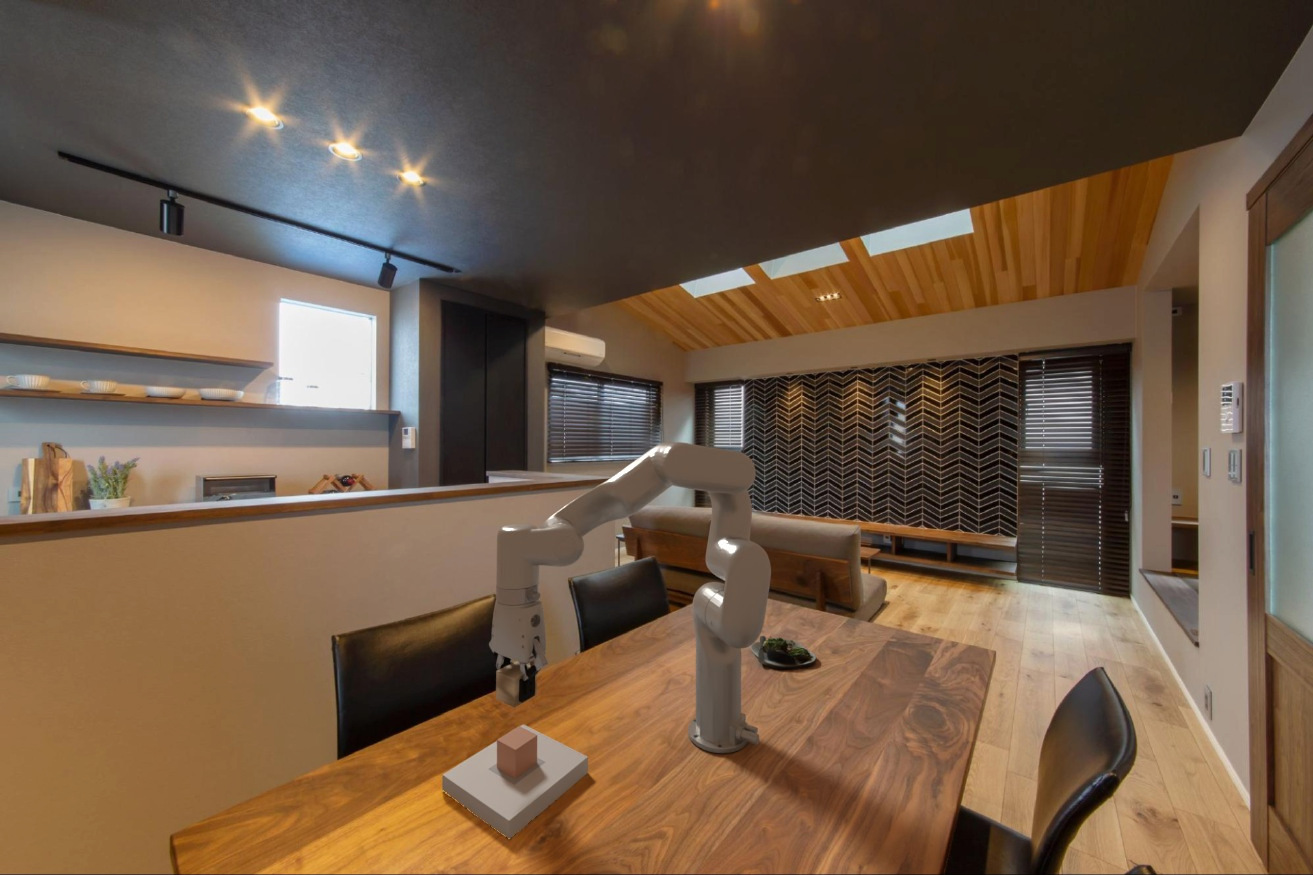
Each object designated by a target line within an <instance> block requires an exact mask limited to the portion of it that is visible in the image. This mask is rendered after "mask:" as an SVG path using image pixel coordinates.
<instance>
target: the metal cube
mask: <svg viewBox="0 0 1313 875" xmlns="http://www.w3.org/2000/svg"><path fill="white" fill-rule="evenodd" d="M530 667H531V666H530V663H527V670H528V669H529V668H530ZM495 673H496V674H495V675H496V677H495V681H496V682H495V683H496V684H495V699H496V700H498V701H500V702H502V703H504V704H506V705H507V706H510V707H511V708H512V707H513V708H517V707H519V706H520V705H521V704H523V703H525V702H527V701H529V700H530V699H532V698H535V696H537V680H538V679H537V678H538V674H537V675H535V695H534V696H533V697H531V698H530V699H528V700H526V701H524V702H523V703H522V702H520V701H519V680H520V679H522V675H521V669H520V663H519V662H518V661H513V662H512V663H511V664H510V665H508V666H506V667H504V668H501V669H497V670H496V671H495Z"/></svg>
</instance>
